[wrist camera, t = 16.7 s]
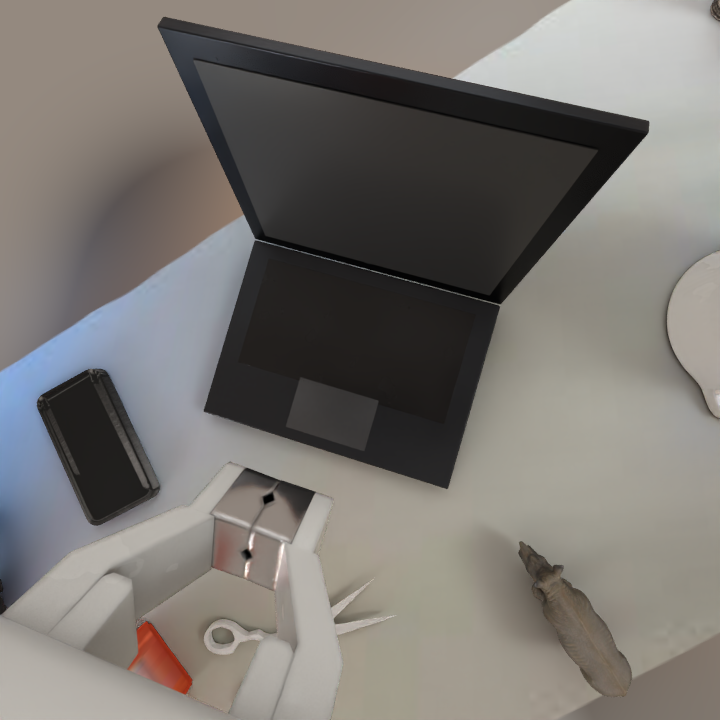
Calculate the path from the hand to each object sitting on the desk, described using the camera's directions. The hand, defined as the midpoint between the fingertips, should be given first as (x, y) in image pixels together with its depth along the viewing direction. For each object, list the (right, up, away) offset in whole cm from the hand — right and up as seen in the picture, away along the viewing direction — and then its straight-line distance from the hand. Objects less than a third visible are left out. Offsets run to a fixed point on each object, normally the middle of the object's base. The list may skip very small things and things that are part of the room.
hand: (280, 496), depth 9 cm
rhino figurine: (+21, -18, +24) cm, 37 cm away
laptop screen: (+3, +15, +16) cm, 22 cm away
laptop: (+1, +4, +27) cm, 27 cm away
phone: (-25, -5, +28) cm, 39 cm away
